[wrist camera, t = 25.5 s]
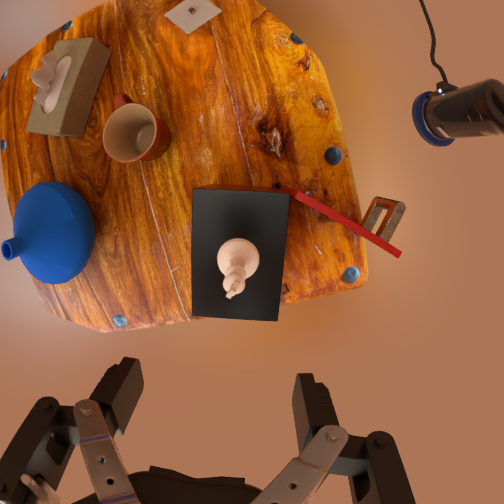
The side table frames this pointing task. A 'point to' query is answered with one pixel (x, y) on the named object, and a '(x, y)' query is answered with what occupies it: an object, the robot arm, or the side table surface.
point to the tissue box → (67, 87)
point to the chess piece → (237, 264)
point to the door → (369, 220)
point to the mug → (134, 132)
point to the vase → (52, 232)
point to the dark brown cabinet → (245, 227)
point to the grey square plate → (192, 14)
